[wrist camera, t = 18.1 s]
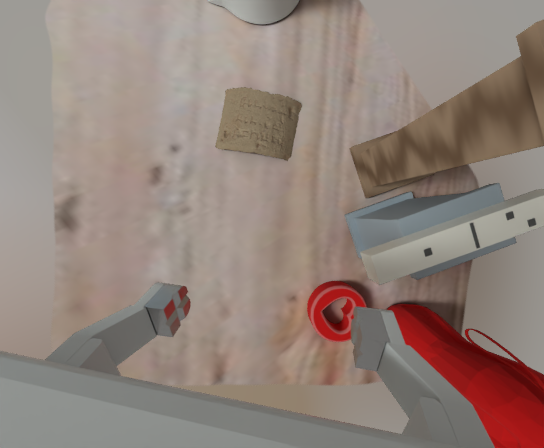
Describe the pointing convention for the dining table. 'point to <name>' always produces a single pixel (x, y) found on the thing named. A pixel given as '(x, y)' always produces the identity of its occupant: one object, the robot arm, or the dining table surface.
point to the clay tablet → (258, 123)
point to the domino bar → (454, 238)
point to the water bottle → (480, 377)
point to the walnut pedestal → (464, 125)
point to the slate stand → (420, 220)
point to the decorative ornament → (324, 298)
